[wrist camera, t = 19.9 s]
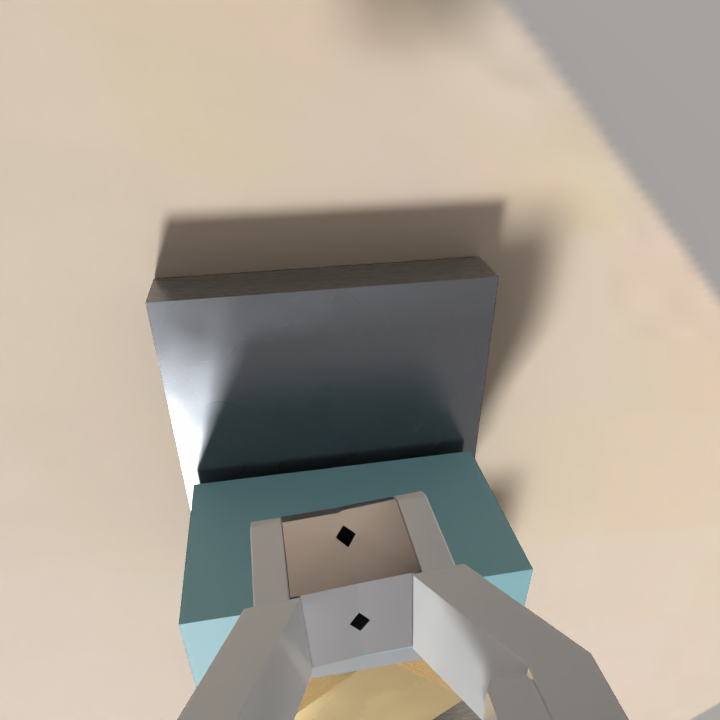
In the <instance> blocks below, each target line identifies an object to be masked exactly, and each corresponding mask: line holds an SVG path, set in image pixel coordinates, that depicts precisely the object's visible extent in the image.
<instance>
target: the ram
mask: <svg viewBox="0 0 720 720" xmlns="http://www.w3.org/2000/svg"><path fill="white" fill-rule="evenodd" d="M419 491H422V492H423V493H424V494H426V496H427V499H428V501H429V504H430V506H431V508H432V511H433V513H434V515H435V518H436V520H437V522H438V525H439V527H440V530H441V532H442V534H443V537H444V539H445V541H446V544H447V546H448V548H449V551H450V553H451V556H452V558H453V560H454V563H455V565H460V564H465V565H467V566H468V567H469V568H471V569H472V570H474V571H475V572H476V573H478V574H479V575H481V576H482V577H484V578H485V579H486V580H488V581H489V582H491V583H492V584H493V585H495V586H496V587H498V588H499V589H500V590H502V591H503V592H505V593H506V594H508V595H509V596H510V597H512V598H513V599H515V600H516V601H517V602H519V603H520V604H522V605H523V606H525V601H526V597H527V593H528V589H529V584H530V580H531V576H532V571H533V568H532V566H531V565H530V563H529V561H528V559H527V557H526V555H525V553H524V551H523V549H522V547H521V546H520V544H519V542H518V540H517V538H516V536H515V534H514V532H513V530H512V529H511V527H510V525H509V523H508V521H507V519H506V517H505V515H504V513H503V511H502V510H501V508H500V506H499V504H498V502H497V500H496V498H495V496H494V494H493V492H492V491H491V489H490V487H489V485H488V483H487V481H486V479H485V477H484V475H483V474H482V472H481V470H480V468H479V466H478V464H477V462H476V460H475V458H474V456H473V455H472V453H471V451H467V452H459V453H450V454H442V455H434V456H426V457H417V458H409V459H401V460H393V461H384V462H376V463H368V464H360V465H352V466H343V467H335V468H327V469H319V470H310V471H302V472H294V473H286V474H277V475H269V476H261V477H253V478H245V479H236V480H228V481H220V482H212V483H203V484H195V485H194V486H193V496H192V505H191V515H190V524H189V533H188V543H187V552H186V562H185V571H184V580H183V590H182V599H181V609H180V618H179V627H180V631H181V634H182V638H183V642H184V645H185V649H186V653H187V656H188V660H189V664H190V667H191V671H192V675H193V678H194V682H195V686H196V688H197V686H198V684H199V683H200V681H201V680H202V678H203V676H204V675H205V673H206V671H207V670H208V668H209V666H210V665H211V663H212V661H213V660H214V658H215V656H216V655H217V653H218V651H219V650H220V648H221V646H222V645H223V643H224V641H225V640H226V638H227V636H228V635H229V633H230V632H231V630H232V628H233V627H234V625H235V623H236V622H237V620H238V618H239V617H240V615H241V613H242V612H243V610H244V609H246V608H250V607H253V586H252V564H251V541H250V527H251V522H254V521H261V520H267V519H273V518H279V517H281V519H282V516H289V515H295V514H301V513H307V512H314V511H320V510H326V509H333V508H338V507H341V506H346V505H351V504H356V503H361V502H366V501H372V500H377V499H382V498H387V497H394V496H398V495H403V494H408V493H413V492H419ZM421 659H423V658H422V657H421V656H420V655H419V654H418V653H417V652H416V651H415V650H414V649H413V646H410V647H405V648H400V649H395V650H390V651H385V652H379V653H374V654H369V655H364V656H363V655H362V656H360V657H356V658H352V659H348V660H344V661H340V662H336V663H332V664H328V665H324V666H320V667H316V668H312V674H311V677H310V679H313V678H318V677H324V676H330V675H335V674H341V673H347V672H352V671H358V670H364V669H369V668H375V667H381V666H386V665H392V664H398V663H403V662H409V661H415V660H421Z"/></svg>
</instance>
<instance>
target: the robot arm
mask: <svg viewBox="0 0 720 720" xmlns="http://www.w3.org/2000/svg"><path fill="white" fill-rule="evenodd" d="M250 541H251V564H252V586H253V607H250V608H246V609H244V610H243V612H242V613H241V615H240V617H239V618H238V620H237V622H236V623H235V625H234V627H233V628H232V630H231V632H230V633H229V635H228V636H227V638H226V640H225V641H224V643H223V645H222V646H221V648H220V650H219V651H218V653H217V655H216V656H215V658H214V660H213V661H212V663H211V665H210V666H209V668H208V670H207V671H206V673H205V675H204V676H203V678H202V680H201V681H200V683H199V684H198V686H197V688H196V689H195V691H194V693H193V694H192V696H191V698H190V699H189V701H188V703H187V704H186V706H185V708H184V709H183V711H182V713H181V714H180V716H179V718H178V719H177V720H294V719H295V716H296V714H297V711H298V708H299V706H300V703H301V701H302V698H303V695H304V693H305V690H306V688H307V685H308V682H309V680H310V677H311V674H312V668H316V667H320V666H324V665H328V664H332V663H336V662H340V661H344V660H348V659H352V658H356V657H360V656H362V655H363V656H364V655H369V654H374V653H379V652H385V651H390V650H395V649H400V648H405V647H410V646H413V649H414V650H415V651H416V652H417V653H418V654H419V655H420V656H421V657H422V658H423V659H424V660H425V661H426V663H427V664H428V665H429V666H430V667H431V668H432V669H433V670H434V671H435V672H436V673H437V674H438V675H439V676H440V677H441V678H442V679H443V680H444V681H445V682H446V683H447V684H448V685H449V686H450V687H451V688H452V689H453V691H454V692H455V693H456V694H457V695H458V696H459V697H460V698H461V699H462V700H463V701H464V702H465V703H466V704H467V705H468V706H469V707H470V708H471V709H472V710H473V711H474V712H475V713H476V714H477V715H478V716H479V717H480V718H481V720H629V719H628V717H627V716H626V714H625V712H624V711H623V709H622V707H621V705H620V704H619V702H618V700H617V698H616V697H615V695H614V693H613V691H612V690H611V688H610V686H609V684H608V683H607V681H606V679H605V677H604V676H603V674H602V672H601V670H600V669H599V667H598V665H597V663H596V662H595V660H594V658H593V656H592V655H591V653H589V652H588V651H587V650H585V649H584V648H582V647H581V646H580V645H578V644H577V643H575V642H574V641H572V640H571V639H570V638H568V637H567V636H565V635H564V634H563V633H561V632H560V631H558V630H557V629H556V628H554V627H553V626H551V625H550V624H548V623H547V622H546V621H544V620H543V619H541V618H540V617H539V616H537V615H536V614H534V613H533V612H532V611H530V610H529V609H527V608H526V607H524V606H523V605H522V604H520V603H519V602H517V601H516V600H515V599H513V598H512V597H510V596H509V595H508V594H506V593H505V592H503V591H502V590H500V589H499V588H498V587H496V586H495V585H493V584H492V583H491V582H489V581H488V580H486V579H485V578H484V577H482V576H481V575H479V574H478V573H476V572H475V571H474V570H472V569H471V568H469V567H468V566H467V565H465V564H460V565H455V563H454V560H453V558H452V556H451V553H450V551H449V548H448V546H447V544H446V541H445V539H444V537H443V534H442V532H441V530H440V527H439V525H438V522H437V520H436V518H435V515H434V513H433V511H432V508H431V506H430V504H429V501H428V499H427V496H426V494H424V493H423V492H422V491H419V492H413V493H408V494H403V495H398V496H394V497H387V498H382V499H377V500H372V501H366V502H361V503H356V504H351V505H346V506H341V507H338V508H333V509H326V510H320V511H314V512H307V513H301V514H295V515H289V516H282V519H281V517H279V518H273V519H267V520H261V521H254V522H251V527H250Z"/></svg>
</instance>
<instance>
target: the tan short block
mask: <svg viewBox="0 0 720 720" xmlns="http://www.w3.org/2000/svg"><path fill="white" fill-rule="evenodd" d="M460 701H462V699H461V698H460V697H459V696H458V695H457V694H456V693H455V692H454V691H453V689H452V688H451V687H450V686H449V685H448V684H447V683H446V682H445V681H444V680H443V679H442V678H441V677H440V676H439V675H438V674H437V673H436V672H435V671H434V670H433V669H432V668H431V667H430V666H429V665H428V664H427V663H426V661H425V660H424V659H421V660H415V661H409V662H403V663H398V664H392V665H386V666H381V667H375V668H369V669H364V670H358V671H352V672H347V673H341V674H335V675H330V676H324V677H318V678H313V679H310V680H309V682H308V685H307V688H306V690H305V693H304V695H303V698H302V701H301V703H300V706H299V708H298V711H297V714H296V716H295V719H294V720H433V719H434V718H436V717H437V716H439V715H440V714H442V713H443V712H445V711H446V710H448V709H450V708H451V707H453V706H454V705H456V704H457V703H459V702H460Z"/></svg>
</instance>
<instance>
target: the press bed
mask: <svg viewBox="0 0 720 720" xmlns="http://www.w3.org/2000/svg"><path fill="white" fill-rule="evenodd" d="M497 285H498V276H497V275H496V274H495V273H494V272H493V271H492V270H491V269H490V268H489V267H488V266H487V265H486V264H485V263H484V262H483V260H482V259H481V258H480V257H467V258H452V259H437V260H423V261H408V262H394V263H379V264H365V265H350V266H335V267H321V268H306V269H292V270H277V271H263V272H248V273H233V274H219V275H204V276H190V277H175V278H161V279H154V280H153V283H152V286H151V288H150V291H149V294H148V297H147V300H146V307H147V312H148V317H149V321H150V326H151V330H152V335H153V339H154V344H155V349H156V353H157V358H158V362H159V367H160V372H161V376H162V381H163V385H164V390H165V394H166V399H167V404H168V408H169V413H170V417H171V422H172V427H173V431H174V436H175V440H176V445H177V449H178V454H179V459H180V463H181V468H182V472H183V477H184V482H185V486H186V491H187V495H188V500H189V504H190V509H191V505H192V496H193V486H194V485H195V484H203V483H212V482H220V481H228V480H236V479H245V478H253V477H261V476H269V475H277V474H286V473H294V472H302V471H310V470H319V469H327V468H335V467H343V466H352V465H360V464H368V463H376V462H384V461H393V460H401V459H409V458H417V457H426V456H434V455H442V454H450V453H459V452H467V451H471V453H472V455H473V456H474V458H475V451H476V444H477V436H478V428H479V421H480V413H481V406H482V398H483V391H484V383H485V375H486V368H487V360H488V353H489V345H490V338H491V330H492V322H493V315H494V307H495V300H496V292H497ZM433 720H481V718H480V717H479V716H478V715H477V714H476V713H475V712H474V711H473V710H472V709H471V708H470V707H469V706H468V705H467V704H466V703H465V702H464V701H463V700H462V701H460V702H459V703H457V704H456V705H454V706H453V707H451V708H450V709H448V710H446V711H445V712H443V713H442V714H440V715H439V716H437V717H436V718H434V719H433Z"/></svg>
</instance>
